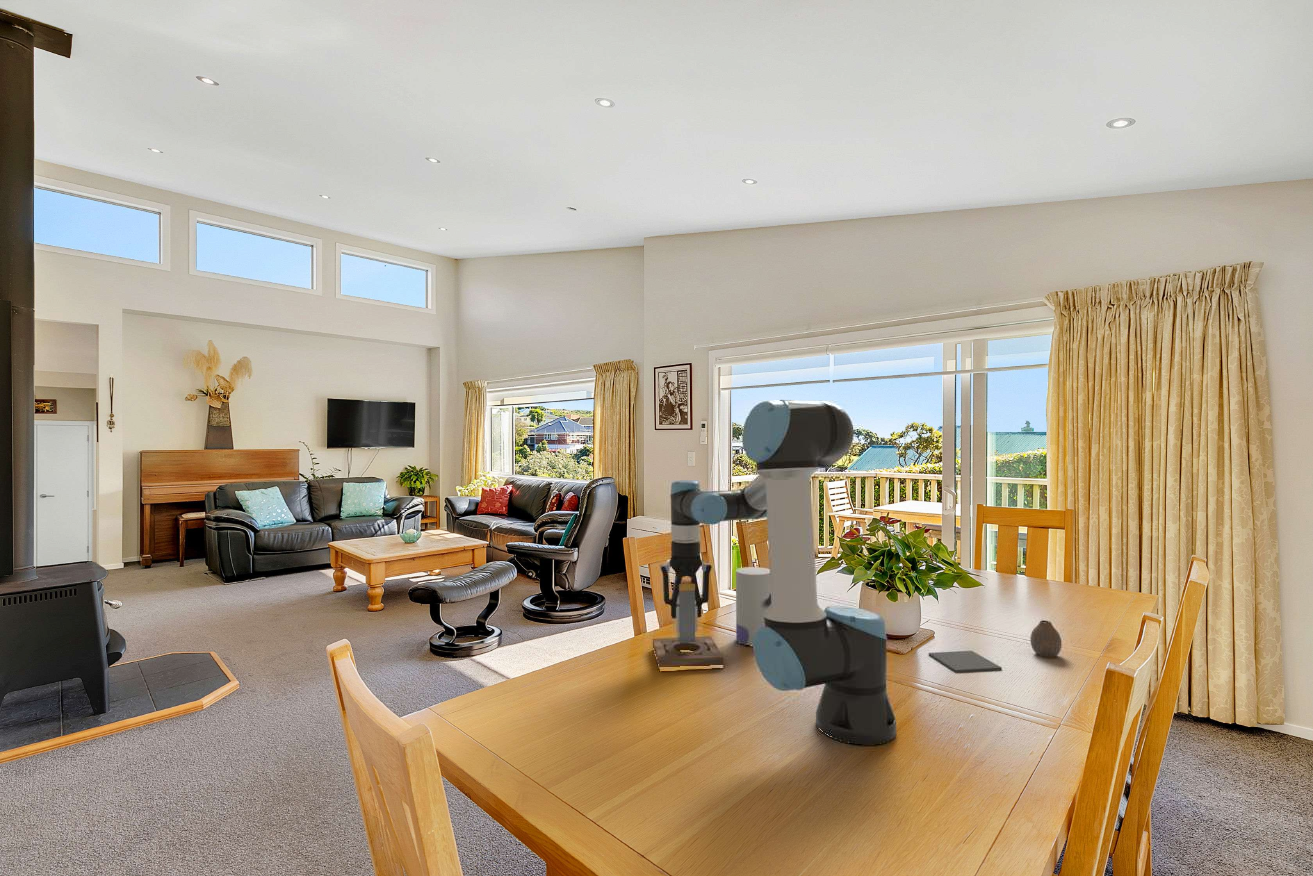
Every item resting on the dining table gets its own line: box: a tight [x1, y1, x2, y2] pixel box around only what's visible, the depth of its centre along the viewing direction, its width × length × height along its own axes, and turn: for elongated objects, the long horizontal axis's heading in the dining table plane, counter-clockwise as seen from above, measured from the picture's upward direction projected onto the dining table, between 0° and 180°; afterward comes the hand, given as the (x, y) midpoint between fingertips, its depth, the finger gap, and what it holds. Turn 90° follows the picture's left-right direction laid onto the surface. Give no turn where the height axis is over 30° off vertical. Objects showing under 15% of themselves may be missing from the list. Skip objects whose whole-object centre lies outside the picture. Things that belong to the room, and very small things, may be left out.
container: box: [735, 566, 771, 646], centre depth 176 cm, size 10×10×20 cm
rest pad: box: [928, 650, 1003, 673], centre depth 158 cm, size 12×12×1 cm
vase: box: [1030, 619, 1063, 659], centre depth 163 cm, size 7×7×9 cm
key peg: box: [676, 579, 696, 643], centre depth 162 cm, size 4×4×15 cm
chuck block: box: [652, 635, 725, 667], centre depth 162 cm, size 16×16×3 cm
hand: (686, 629), depth 162 cm, fingers closed on key peg, 4 cm apart
